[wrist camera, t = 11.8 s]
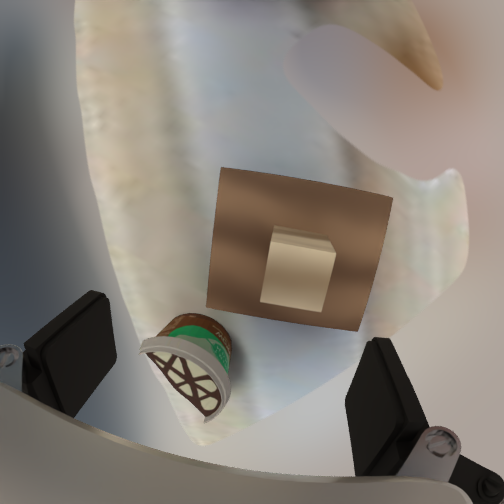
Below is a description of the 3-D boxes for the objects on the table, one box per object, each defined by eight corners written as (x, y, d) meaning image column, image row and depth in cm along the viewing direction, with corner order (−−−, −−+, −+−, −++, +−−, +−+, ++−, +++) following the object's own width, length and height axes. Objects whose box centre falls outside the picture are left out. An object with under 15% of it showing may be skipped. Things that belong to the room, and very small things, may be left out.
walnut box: (231, 166, 32) (220, 167, 27) (378, 192, 31) (393, 197, 26) (216, 288, 36) (206, 307, 31) (349, 310, 35) (357, 331, 30)
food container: (259, 359, 39) (250, 412, 29) (223, 375, 40) (207, 426, 31) (203, 287, 36) (176, 328, 27) (168, 308, 38) (135, 350, 28)
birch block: (274, 225, 28) (270, 241, 22) (326, 234, 28) (336, 253, 22) (265, 275, 30) (259, 301, 24) (315, 283, 29) (321, 312, 24)
